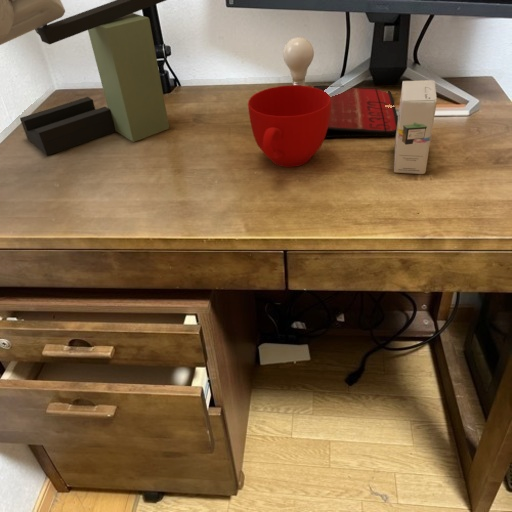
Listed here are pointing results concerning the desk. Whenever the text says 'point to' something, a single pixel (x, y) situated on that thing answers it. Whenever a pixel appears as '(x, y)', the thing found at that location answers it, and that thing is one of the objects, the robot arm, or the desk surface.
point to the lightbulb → (298, 58)
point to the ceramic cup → (289, 122)
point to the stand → (130, 76)
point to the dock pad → (67, 125)
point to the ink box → (414, 126)
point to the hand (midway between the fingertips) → (15, 41)
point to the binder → (361, 113)
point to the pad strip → (91, 19)
